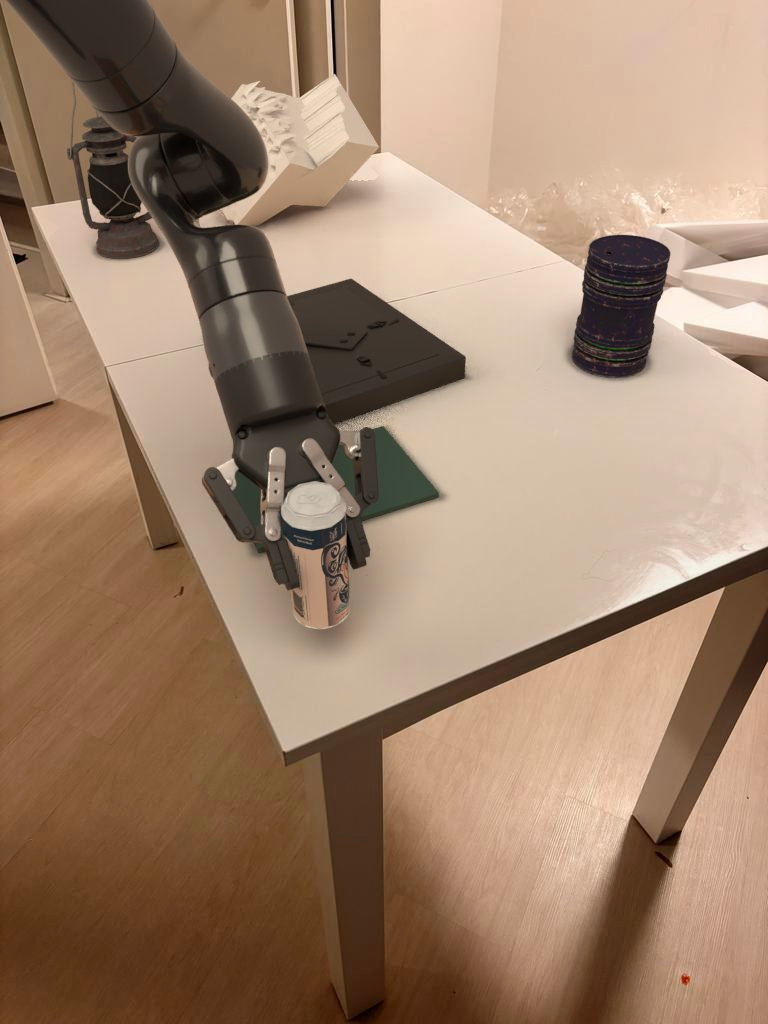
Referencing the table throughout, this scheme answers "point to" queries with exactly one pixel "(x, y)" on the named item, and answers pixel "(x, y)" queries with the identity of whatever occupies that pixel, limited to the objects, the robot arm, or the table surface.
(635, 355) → the dark blue cylinder
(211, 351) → the robot arm
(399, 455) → the mat
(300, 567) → the beer can
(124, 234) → the lantern
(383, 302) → the black flat block
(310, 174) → the white angular faceted block
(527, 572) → the table surface
